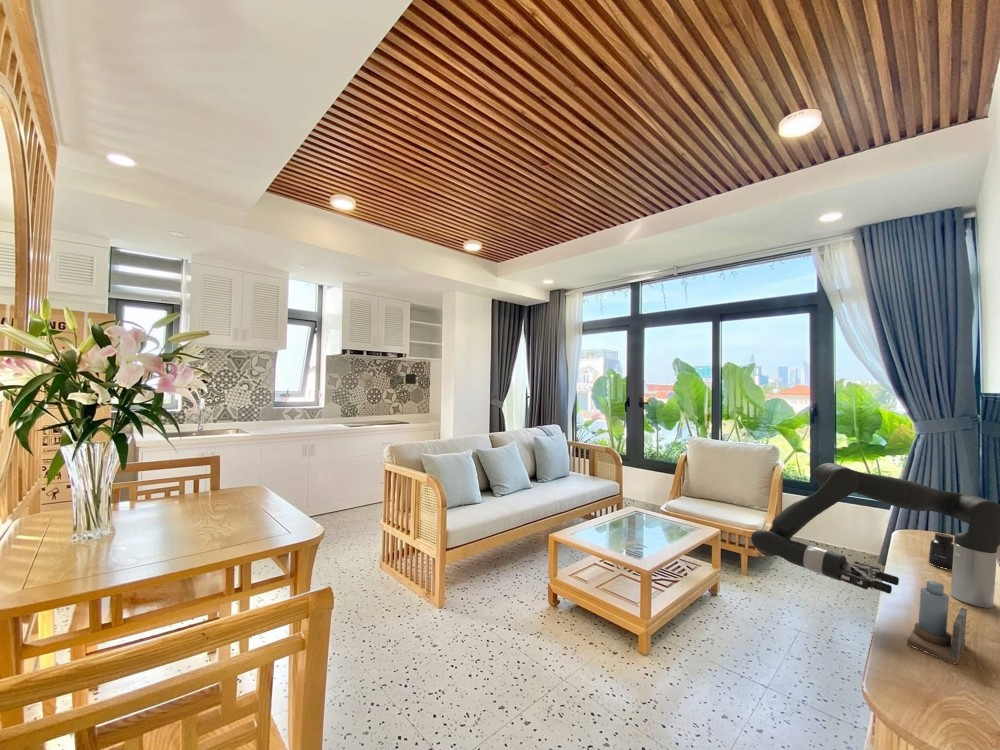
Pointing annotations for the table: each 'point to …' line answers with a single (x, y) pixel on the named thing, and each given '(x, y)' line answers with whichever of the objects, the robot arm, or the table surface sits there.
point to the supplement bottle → (941, 551)
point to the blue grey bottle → (933, 609)
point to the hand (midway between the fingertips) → (895, 585)
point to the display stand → (942, 640)
